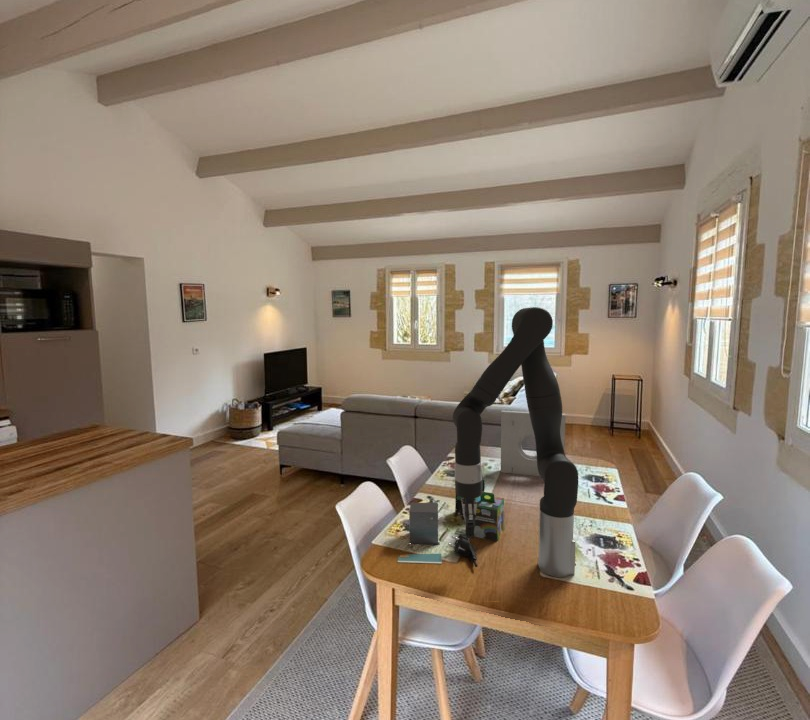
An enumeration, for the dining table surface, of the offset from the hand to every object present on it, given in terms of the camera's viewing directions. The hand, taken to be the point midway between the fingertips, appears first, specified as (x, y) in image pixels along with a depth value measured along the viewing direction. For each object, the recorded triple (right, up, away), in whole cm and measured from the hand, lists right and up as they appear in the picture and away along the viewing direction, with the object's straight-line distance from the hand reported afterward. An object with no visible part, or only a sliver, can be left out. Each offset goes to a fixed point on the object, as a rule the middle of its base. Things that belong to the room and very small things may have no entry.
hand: (469, 536), depth 123 cm
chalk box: (+9, -8, +22) cm, 26 cm away
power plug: (-1, -7, +1) cm, 7 cm away
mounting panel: (+38, -3, +70) cm, 80 cm away
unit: (-12, -9, +19) cm, 24 cm away
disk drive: (+5, -7, +35) cm, 36 cm away
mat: (-14, -10, +10) cm, 19 cm away
